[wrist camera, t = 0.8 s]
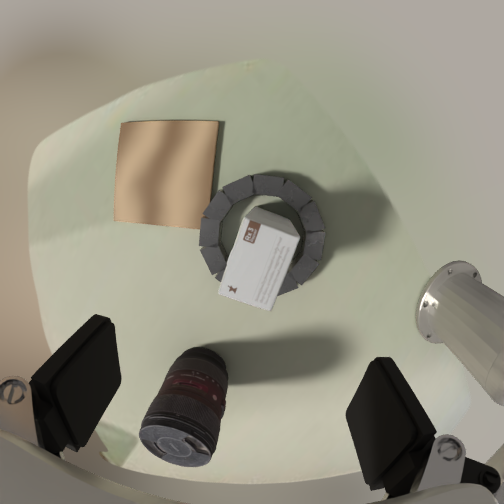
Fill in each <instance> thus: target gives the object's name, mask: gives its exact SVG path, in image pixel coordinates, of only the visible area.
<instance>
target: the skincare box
mask: <svg viewBox="0 0 504 504" xmlns="http://www.w3.org/2000/svg"><path fill="white" fill-rule="evenodd" d="M299 240H300V236H299V234H298V232H297V231H296V229H295V227H294V226H293V224H292V222H291V221H290V219H288V218H285V217H283V216H280V215H277V214H275V213H272V212H269V211H267V210H264V209H262V208H259V207H257V206H255V207H254V208H253V209H252V210H251V211H250V212H249V213H248V214H247V215H246V216H245V217H244V218H243V220H242V223H241V226H240V229H239V232H238V234H237V237H236V240H235V243H234V246H233V249H232V251H231V253H230V255H229V258H228V261H227V266H226V269H225V272H224V275H223V278H222V281H221V284H220V287H219V290H218V294H220V295H223V296H225V297H228V298H231V299H234V300H237V301H240V302H243V303H246V304H249V305H252V306H255V307H258V308H261V309H265V310H268V311H271V310H272V308H273V305H274V303H275V300H276V298H277V295H278V293H279V291H280V288H281V286H282V283H283V281H284V278H285V276H286V273H287V271H288V268H289V266H290V263H291V261H292V258H293V255H294V253H295V250H296V247H297V245H298V242H299Z"/></svg>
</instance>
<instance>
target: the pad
mask: <svg viewBox="0 0 504 504" xmlns="http://www.w3.org/2000/svg"><path fill="white" fill-rule="evenodd" d="M218 129H219V122H218V121H144V122H127V123H121V128H120V136H119V144H118V153H117V164H116V177H115V194H114V221H121V222H132V223H142V224H152V225H162V226H172V227H182V228H192V229H200V225H201V218H202V217H204V216H205V215H204V214H203V212H204V211H205V209H206V208H207V206H208V205H209V203H210V202H211V194H212V184H213V173H214V164H215V154H216V145H217V137H218Z"/></svg>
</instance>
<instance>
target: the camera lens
mask: <svg viewBox="0 0 504 504" xmlns="http://www.w3.org/2000/svg"><path fill="white" fill-rule="evenodd" d="M227 388H228V373H227V370H226V365H225V362H224V361H223V359H222V358H221V357H220V356H219V355H218V354H217V353H215V352H213V351H211V350H209V349H205V348H191V349H188V350H187V351H185V352H184V353H183V354H182V355H181V356H179V357H178V358H177V359H176V361H175V362H174V364H173V365H172V366H171V367H170V369H169V371H168V373H167V375H166V377H165V380H164V382H163V385H162V387H161V389H160V391H159V393H158V395H157V396H156V397H155V399H154V400H153V402H152V403H151V405H150V407H149V409H148V411H147V413H146V415H145V417H144V419H143V421H142V424H141V429H140V432H139V438H140V440H141V442H142V444H143V445H144V446H145V447H146V448H147V449H148V450H149V451H150V452H151V453H153V454H154V455H155V456H157V457H159V458H161V459H162V460H164V461H167V462H169V463H172V464H175V465H179V466H184V467H199V466H203V465H205V464H207V463H208V462H209V461H210V460H211V457H212V455H213V453H214V452H215V450H216V445H217V441H218V437H219V432H220V423H221V419H222V417H223V415H224V411H225V407H226V406H225V405H226V400H225V398H226V394H227Z"/></svg>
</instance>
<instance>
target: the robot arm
mask: <svg viewBox="0 0 504 504" xmlns="http://www.w3.org/2000/svg"><path fill="white" fill-rule="evenodd" d="M416 324H417V328H418V330H419V332H420V334H421V335H422V336H423V337H424V338H425V339H426V340H427V341H429V342H431V343H436V344H437V343H444V344H445V345H446V346H447V347H448V348H449V349H450V350H451V352H452V353H453V354H454V355H455V356H456V357H457V358H458V359H459V361H460V362H461V363H462V364H463V365H464V366H465V367H466V369H467V370H468V371H469V372H470V373H471V375H472V376H473V377H474V378H475V379H476V380H477V382H478V383H479V384H480V385H481V386H482V388H483V389H484V390H485V391H486V392H487V394H488V395H489V396H490V397H491V399H492V400H493V401H494V402H496V403H497V404H499V405H502V406H504V297H503V296H502V295H500V294H498V293H497V292H495V291H494V290H492V289H490V288H489V287H487V286H485V285H484V284H482V281H481V277H480V274H479V272H478V271H477V269H476V268H475V267H474V266H473V265H471V264H469V263H467V262H464V261H453V262H451V263H448V264H446V265H445V266H443V267H441V268H440V269H439V270H438V271H437V272H436V273H435V274H434V275H433V276H432V277H431V278H430V280H429V281H428V283H427V284H426V286H425V287H424V289H423V291H422V293H421V295H420V298H419V301H418V305H417V310H416ZM31 379H32V380H31V381H30V382H29V383H28V382H27V381H26V380H25V379H23V378H22V377H19V376H9V377H5V378H3V379H2V380H0V504H189V503H184V502H179V501H174V500H171V499H166V498H162V497H159V496H155V495H151V494H148V493H144V492H141V491H138V490H134V489H132V488H129V487H126V486H123V485H120V484H118V483H115V482H112V481H109V480H107V479H105V478H102V477H100V476H97V475H95V474H93V473H90V472H88V471H86V470H83V469H81V468H79V467H77V466H75V465H73V464H71V463H69V462H67V461H65V459H64V455H63V450H64V448H65V447H67V448H69V449H71V450H73V451H75V452H78V450H79V448H80V447H84V446H85V445H86V444H87V442H88V440H89V438H90V437H91V434H92V433H93V431H94V429H95V428H96V426H97V424H98V422H99V421H100V419H101V417H102V415H103V414H104V412H105V410H106V408H107V407H108V405H109V403H110V402H111V400H112V398H113V397H114V395H115V393H116V392H117V390H118V388H119V386H120V384H121V372H120V365H119V358H118V351H117V343H116V334H115V325H114V323H111V320H110V318H108V317H104V316H101V315H97V314H95V315H93V316H92V317H91V318H90V319H89V320H88V321H87V322H86V323H85V324H84V325H83V326H82V327H80V328H79V329H78V330H77V331H76V332H75V333H74V334H73V335H72V336H71V337H70V338H69V339H68V340H67V341H66V342H65V343H64V344H63V345H62V346H61V347H60V348H59V349H58V350H57V351H56V352H55V353H54V354H53V355H52V356H51V357H50V358H49V359H48V360H47V361H46V362H45V363H44V364H43V365H42V366H41V367H40V368H39V369H38V370H37V371H36V372H35V374H34V375H33V376H32V377H31ZM346 420H347V423H348V426H349V429H350V432H351V436H352V439H353V442H354V446H355V449H356V452H357V456H358V459H359V463H360V466H361V470H362V473H363V477H364V480H365V483H366V484H369V486H370V490H371V491H372V490H377V489H382V488H384V487H385V490H386V493H385V495H384V497H383V498H382V500H381V501H378V502H373V503H368V504H504V444H503V445H502V446H501V447H500V448H499V449H498V450H497V451H496V453H495V454H494V455H493V456H492V457H491V458H490V459H489V460H488V461H487V462H486V463H485V464H482V463H480V462H477V461H475V460H472V459H469V458H467V457H465V455H466V451H465V447H464V444H463V443H462V442H461V441H460V440H459V439H458V438H457V437H454V436H453V435H448V434H447V435H441V436H439V437H437V438H436V439H435V437H434V435H435V434H436V432H437V431H436V429H435V428H434V426H433V424H432V422H431V421H430V419H429V417H428V415H427V414H426V412H425V410H424V409H423V407H422V405H421V404H420V402H419V400H418V399H417V397H416V396H415V394H414V392H413V391H412V389H411V387H410V386H409V384H408V383H407V381H406V379H405V378H404V376H403V375H402V373H401V372H400V370H399V368H398V367H397V365H396V364H395V362H394V361H393V359H392V358H390V357H377V358H375V359H374V361H371V362H370V364H369V366H368V368H367V370H366V372H365V374H364V377H363V379H362V381H361V383H360V385H359V387H358V389H357V391H356V393H355V395H354V397H353V399H352V401H351V402H350V404H349V406H348V408H347V410H346Z"/></svg>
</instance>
